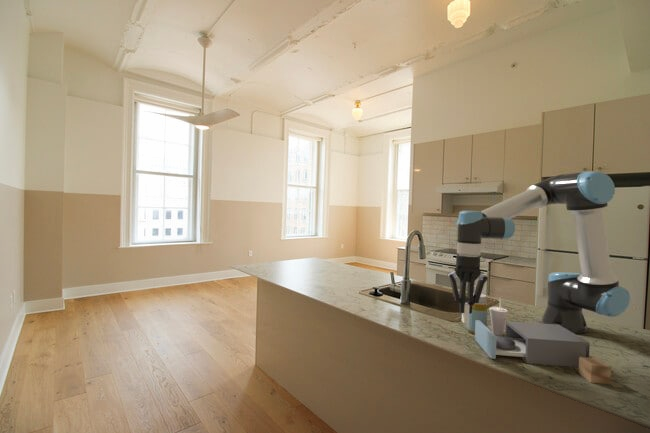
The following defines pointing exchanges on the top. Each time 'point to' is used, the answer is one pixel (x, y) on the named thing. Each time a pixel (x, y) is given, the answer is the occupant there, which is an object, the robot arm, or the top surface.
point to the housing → (549, 343)
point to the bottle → (478, 314)
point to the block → (594, 370)
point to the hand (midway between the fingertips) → (465, 322)
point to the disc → (505, 343)
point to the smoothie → (498, 319)
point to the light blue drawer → (489, 342)
